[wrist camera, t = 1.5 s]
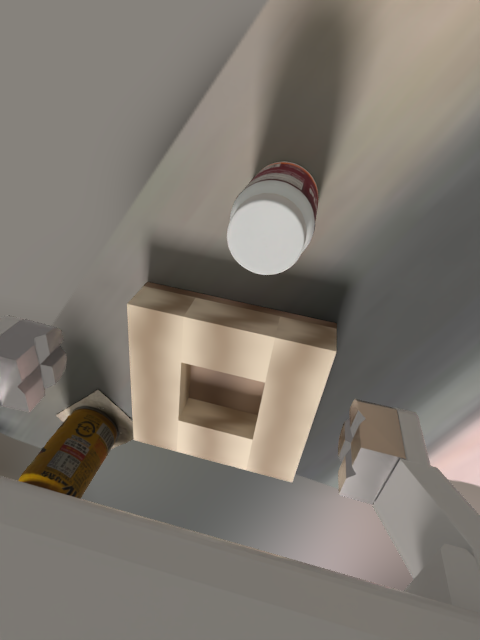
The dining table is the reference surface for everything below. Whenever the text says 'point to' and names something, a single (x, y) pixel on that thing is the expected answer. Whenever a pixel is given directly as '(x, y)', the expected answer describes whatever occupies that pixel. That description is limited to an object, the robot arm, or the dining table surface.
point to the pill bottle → (273, 218)
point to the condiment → (79, 446)
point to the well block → (226, 378)
